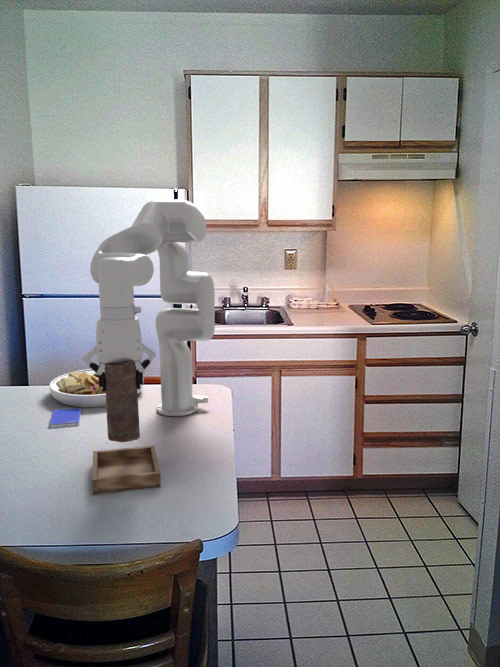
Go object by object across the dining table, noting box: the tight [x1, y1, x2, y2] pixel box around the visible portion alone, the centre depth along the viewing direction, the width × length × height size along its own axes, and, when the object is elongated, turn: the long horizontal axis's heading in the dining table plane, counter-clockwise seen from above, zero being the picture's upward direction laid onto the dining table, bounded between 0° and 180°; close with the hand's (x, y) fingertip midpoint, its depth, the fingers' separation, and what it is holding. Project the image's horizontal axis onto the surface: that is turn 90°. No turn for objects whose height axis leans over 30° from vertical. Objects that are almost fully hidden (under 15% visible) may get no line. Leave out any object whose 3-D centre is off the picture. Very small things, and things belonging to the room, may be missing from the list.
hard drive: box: [49, 407, 82, 429], centre depth 185 cm, size 2×8×12 cm
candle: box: [104, 360, 141, 443], centre depth 144 cm, size 8×7×20 cm
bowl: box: [49, 368, 144, 408], centre depth 206 cm, size 30×30×8 cm
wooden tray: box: [91, 445, 161, 495], centre depth 148 cm, size 15×16×4 cm
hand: (121, 388), depth 143 cm, fingers closed on candle, 7 cm apart
